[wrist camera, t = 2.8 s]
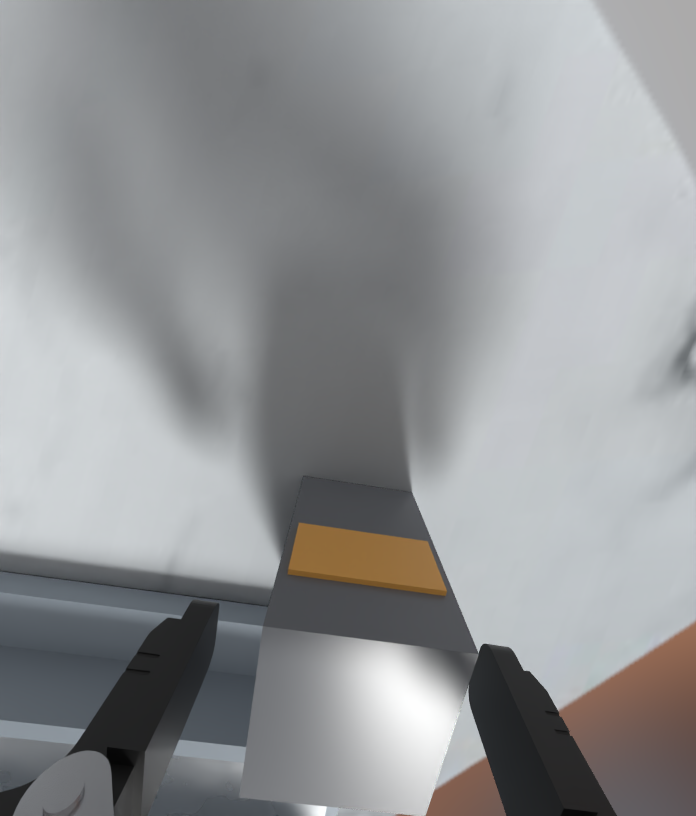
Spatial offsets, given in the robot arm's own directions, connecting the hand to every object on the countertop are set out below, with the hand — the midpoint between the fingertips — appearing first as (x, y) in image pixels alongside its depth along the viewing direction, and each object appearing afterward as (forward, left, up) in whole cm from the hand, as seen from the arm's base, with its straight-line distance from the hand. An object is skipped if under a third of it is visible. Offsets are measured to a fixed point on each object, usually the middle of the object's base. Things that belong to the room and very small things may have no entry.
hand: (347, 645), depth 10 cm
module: (-1, 0, -5) cm, 5 cm away
